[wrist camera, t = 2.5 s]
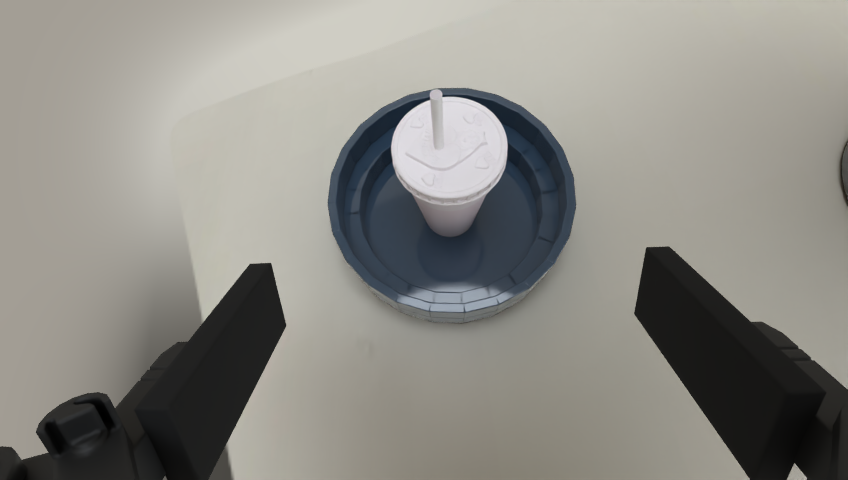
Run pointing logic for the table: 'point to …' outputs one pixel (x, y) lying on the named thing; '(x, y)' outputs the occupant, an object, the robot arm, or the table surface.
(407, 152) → the smoothie
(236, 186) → the table surface
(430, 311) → the bowl
